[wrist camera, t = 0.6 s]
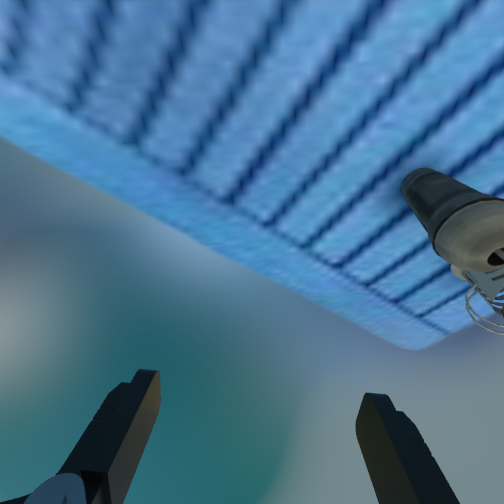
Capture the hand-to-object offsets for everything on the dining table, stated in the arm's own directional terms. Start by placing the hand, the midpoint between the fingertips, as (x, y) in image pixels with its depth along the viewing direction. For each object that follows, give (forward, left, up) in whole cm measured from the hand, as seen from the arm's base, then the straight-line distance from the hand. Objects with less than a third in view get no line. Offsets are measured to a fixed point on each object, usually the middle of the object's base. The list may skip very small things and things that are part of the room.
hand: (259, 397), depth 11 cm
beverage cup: (+13, +16, -30) cm, 36 cm away
